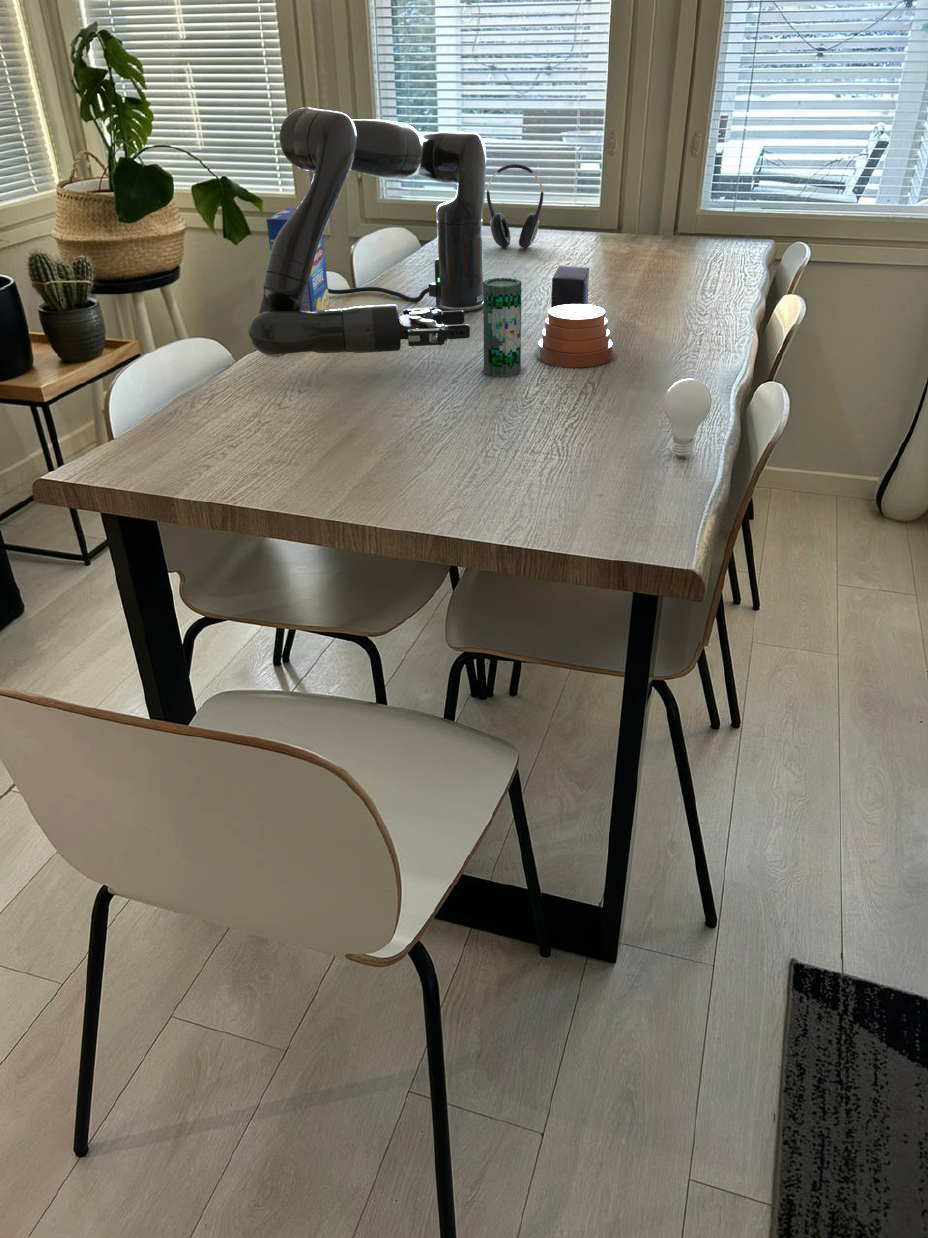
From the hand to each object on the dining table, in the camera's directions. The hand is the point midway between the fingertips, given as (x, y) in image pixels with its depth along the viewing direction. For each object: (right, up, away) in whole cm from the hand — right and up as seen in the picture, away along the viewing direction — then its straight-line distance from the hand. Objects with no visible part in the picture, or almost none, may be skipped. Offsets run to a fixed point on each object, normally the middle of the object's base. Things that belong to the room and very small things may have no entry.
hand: (466, 323), depth 164 cm
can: (+6, -7, +5) cm, 10 cm away
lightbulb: (+30, -27, -28) cm, 49 cm away
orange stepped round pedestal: (+20, -2, +11) cm, 23 cm away
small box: (+20, +7, +27) cm, 34 cm away
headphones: (+13, +47, +90) cm, 102 cm away
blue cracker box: (-31, +6, +27) cm, 42 cm away
